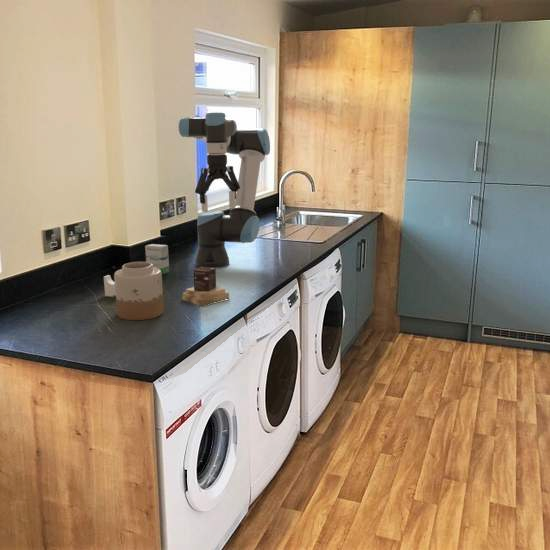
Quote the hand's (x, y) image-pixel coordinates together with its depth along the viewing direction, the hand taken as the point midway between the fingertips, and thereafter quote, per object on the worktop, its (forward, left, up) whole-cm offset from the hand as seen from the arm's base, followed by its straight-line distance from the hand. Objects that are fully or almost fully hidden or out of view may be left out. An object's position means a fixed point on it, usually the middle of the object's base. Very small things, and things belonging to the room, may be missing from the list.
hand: (218, 209), depth 236 cm
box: (+16, -20, -25) cm, 36 cm away
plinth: (+16, -20, -29) cm, 38 cm away
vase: (+13, -45, -29) cm, 55 cm away
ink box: (-30, -10, -29) cm, 43 cm away
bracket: (-14, -36, -29) cm, 48 cm away
